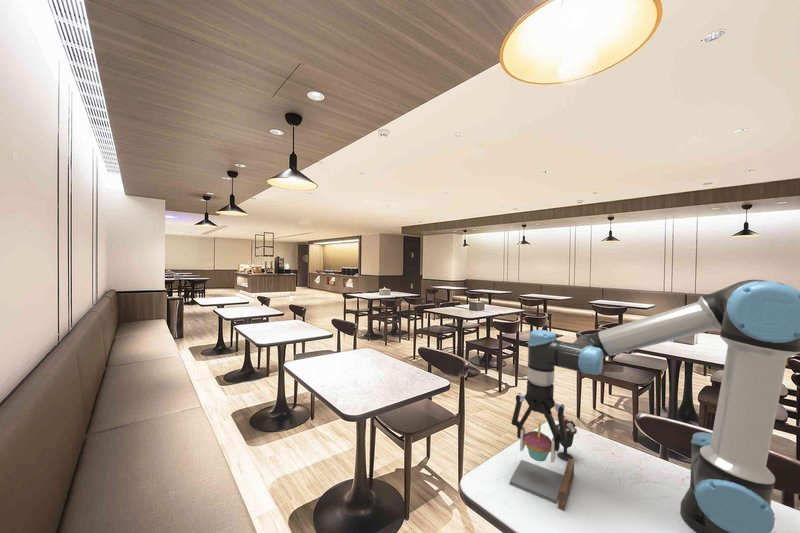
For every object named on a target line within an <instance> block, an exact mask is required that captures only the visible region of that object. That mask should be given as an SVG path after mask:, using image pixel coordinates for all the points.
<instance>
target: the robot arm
mask: <svg viewBox="0 0 800 533" xmlns="http://www.w3.org/2000/svg"><path fill="white" fill-rule="evenodd" d="M714 330H715V331H719V332H720V334H719V337H720V338H721V339H722V341H724V342H725V344H726V345H727V349H726V354H725V361H724V366H723V372H722V376H721V384H720V389H719V394H718V395H719V396H718V401H717V405H716V412H715V418H714V422H713V428H712V433H709V432H703V431H701V432H695V433H693V435H692V438H691V439H692V440H691V441H690V443H691V460H690V477H689V478H690V482H689V487H688V489H687V490H686V493H685V494H684V497H683V498H682V500H681V501H680V507H679V509H680V511H679V512H680V516H681V518H682V519H683V521H684V522H685V523H686V525H688V526H689V527H690V528H691V529H692V530H694V532H696V533H697V532H698V533H771V532H772V531H773V530H774V528H775V520H776V518H775V513H774V511H773V510H774V509H772V506H771V504H772V498H773V493H774V489H775V488H774V487H775V483H776V477H775V475H774V474H773V473H772V471H771V470H770V469H769V468H768V467H767V463H768V458H769V453H770V448H771V442H772V437H773V433H774V427H775V422H776V418H777V412H778V407H779V403H780V402H779V401H780V397H781V396H780V395H781V391H782V388H783V381H784V376H785V370H786V365H787V361H788V359H789V358H790V357H793V356H796V355H799V354H800V290H798V289H797V288H795V287H793V286H791V285H789V284H786V283H782V282H776V281H771V280H765V279H764V280H763V279H746V280H741V281H738V282H736V283H733V284H731V285H728V286H727V287H723V288H721V289H719V290H716V291H714V292H711V293H709V294H705V295H702V296H699V299H698V300H697V301H695V302H693V303H690V304H686V305H683V306H680V307H677V308H676V307H675V308H673V309H669V310H667V311H663V312H660V313H656V314H653V315H649V316H646V317H642V318H640V319H637V320H633V321H630V322H627V323H623V324H619V325H615V326H613V327H610V328H607V329H603V330H599V331H598V332H593V333H590V334H589V333H588V334H583V335H580V336H578V338H576V339H575V341H574V342H567V341H562V340H558V339H557V335H556V333H555V332H553V331H549V330H546V329H544V330H543V329H534V330H532V331H530V332H529V335H528V336H529V337H528V338H529V339H528V345H527V348H528V354H527V356H528V358H527V373H526V374H527V375H526V378H527V381H526V394H522V393H520V392H518V393H517V394H516V395H515V403H516V404H515V406H514V411H513V415H512V419H511V425H512V426H515V427H516V428H517V430H516V431H517V432H516V433H517V434H516V437H517V439H520V440H519V451H520V452H523V451H524V449H525V446H526V445H525V444H524V443H523V438H524V434H526V426H524V425H525V423H526V421H527V420H528V418H529V416H530V415H531V413H532V412H535V413H539V414H543V415H544V418H545V419H546V422H547V424H548V426H549V429H550V432H551V434H552V438H551V441H552V444H551V452H550V462H551V463H553V464H554V463H555V460H556V452H558V453H559V452H560V451H559V450H560V445H561V444H560V441H566V438H567V432H566V426H565V420H566V419H565V417H564V416H565V414H564V413H565V412H564V411H565V405H564V404H562V403H561V404H559V403H556V402H555V400H554V392H555V391H554V390H555V388H554V387H555V385H554V382H555V367H558V368H561V369H567V370H570V371H576V372H579V373H583V374H587V375H589V374H590V375H594V376H595V375H596V376H598V375H600V374H601V373H602V371H603V370H602V369H603V365H604V358H608V357H612V356H615V355H618V354H623V353H627V352H631V351H635V350H639V349H643V348H647V347H651V346H655V345H659V344H662V343H667V342H670V341H676V340H677V339H678V340H680V339H683V338H686V337H691V336H695V335H698V334H702V333H706V332H707V333H708V332H710V331H714ZM523 402H526V403H527V405H528V407H527V409H526V411H525V413H524V414H523V416H522V417H521V419H520V421H519V417H520V412H521V408H522V404H523ZM553 408H554V409H555V412H556V413H557V420H558V421H557V422H558V424H559V428H560V434H559V431H558V429H557V426H556V425H557V424H556V421H555V419H554V416H553V414H552V409H553Z"/></svg>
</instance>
